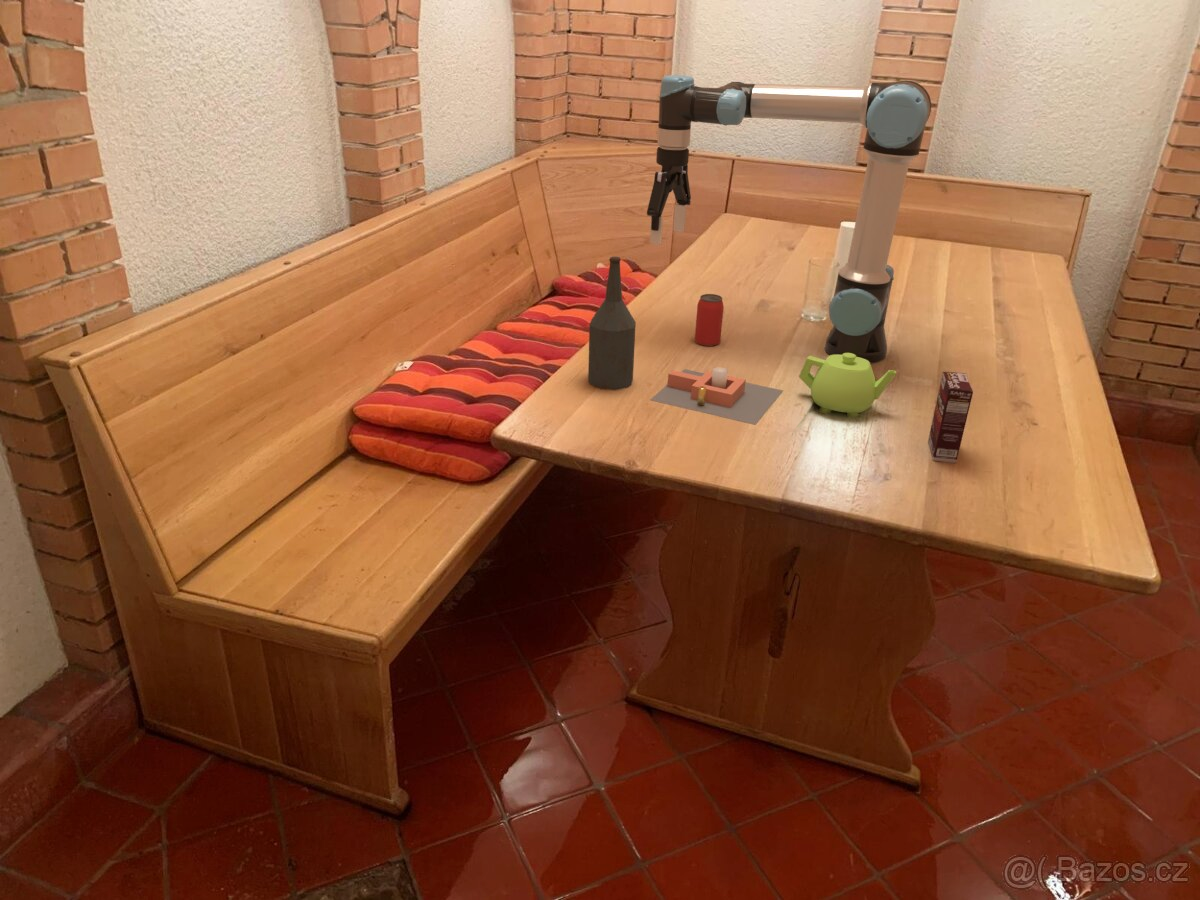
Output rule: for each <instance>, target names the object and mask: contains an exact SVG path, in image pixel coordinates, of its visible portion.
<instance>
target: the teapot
mask: <svg viewBox="0 0 1200 900" xmlns="http://www.w3.org/2000/svg"><path fill="white" fill-rule="evenodd" d="M812 365H813V366H816V367H818V370H817V371H816V373H815V375H813V374H812V373H810V371H811V369H812ZM896 375H897V371H896V370H892V369H888V370H887V371H886V372H885V373H884V374H883V375H882V376H881V377H879V379H878V380H877V381H876V378H875V375H874V370H873V368H872V365H871V363H870V362H869V361H868V360H866V359H863V358H860V357H856V355H855V354H852V353H843V354H842V355H828V356H827V357H826V358H825V359H823V358H819V357H815V356H813V355H808V356H807V358H806V359H805V362H804V364H803V366H802V368H801V371H800V372H799V375H798V378H799V379H800V380H801V381H802V383H804V384H805V385H806V387H808V388H809V389H810V395H811V398H812V400H813V402H814V403H815V404H816V405H817V406H819V408H818V411H819V412H820V413H822V414H830V413H831V411H835V412H841V413H847V416H848V418H852V419H857V418H860V414H859V413H864V412H866V411H867V410H869V408H870V407H871V406H872V405H873V404H874V401H875V400H878V399H879V397H880V396H881V395H882V394H883V392H884V391H885V389H886V388H887V387H888V385H890V383H891V381H892V380H893V379H894V378H895V376H896Z"/></svg>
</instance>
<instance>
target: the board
mask: <svg viewBox="0 0 1200 900" xmlns="http://www.w3.org/2000/svg"><path fill="white" fill-rule="evenodd" d="M681 372H683V373H687V374H692V375H697V376H701V377H702V376H703V375H704V374H705V373H706V372H705V373H704V372H701V371H700V372H699V371H695V370H692V369H691V370H690V369H687V368H684V369H683V370H682V371H681ZM712 373H713V374H712V385H711V386H713V387H718V388H722V389H726V382H727V376H728V369H727V368H725V367H720V366H718V367H713V369H712ZM667 385H668V383H667V384H666V385H665V386H664V387H662V388H661V389H660V390H659V391H658V392H657V393H655V395H654V396H652V397H651V398H650V399H649V401H652V402H657V403H660V404H665V405H669V406H673V407H677V408H682V409H687V410H690V411H694V412H699V413H703V414H707V415H712V416H715V417H719V418H720V417H721V418H724V419H729V420H732V421H737V422H740V423H741V422H742V423H745V424H750V425H755V426H756V425H757V424H758V423H759V422H760V420H761V419H762V418H763V416H764V415H765V414H766V413H767V412H768V410H769V409H770V408H771V407H772V406H773V404H774V403H775V402H776V401H777V399H779V397H780V396H781V394H782V393H783V392H784V390H783V389H778V388H775V387H768V386H764V385H759V384H756V383H750V382H747V381H746V383H745V391H744V393H743V394H742V395H741V396H740V397H739V399H738V400H737V401H736V402H735V403H734V404H733V405H732V406H731V407H727V406H722V405H718V404H714V403H709V402H705V405H704V406H698V405H697V401H698V400H696V399H692V398H691V391H687V390H682V389H678V388H673V387H669V386H667Z"/></svg>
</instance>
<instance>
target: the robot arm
mask: <svg viewBox="0 0 1200 900" xmlns="http://www.w3.org/2000/svg"><path fill="white" fill-rule="evenodd" d="M660 82H661V83H660V91H659V97H658V99H659V100H658V101H659V104H658V105H659V106H658V125H657V126H658V128H657V131H656V135H657V145H658V147H657V148H656V158H655V159H656V161H655V162H656V164H658V165H660V166H661V172H659V171H655V172H654V179H653V181H654V182H653V184H652V190H651V193H650V198H649V201H648V207H647V210H646V215H647V216H650V232H649V233H650V236H649V244H655V245H662V241H663V225H664V223H663V222H664V216H663V215H662V214H663V212H664V208H665V206H666V203H667V200H668V198H669V195H670V193H671V192H673V195H674V198H675V200H676V204H674V215H673V216H674V217H673V229H672V231H673V232H679V233H685V229H686V216H687V215H686V213H687V206H690V205H691V196H692V195H691V189H690V188H691V187H690V182H689V175H688V173H689V172H688V171H689V168H688V164H689V158H690V155H689V154H690V149H689V146H690V145H691V131H692V130H691V128H692V127H691V126H692V125H691V124H692V123H704V124H705V123H706V124H714V125H722V126H738V125H740V124H741V123H742V122H743V119H754V118H755V119H771V120H772V119H773V120H792V121H794V120H795V121H812V122H832V123H852V124H853V123H854V124H861V125H862V126H863V128H864V129H866V131H865V137H864V142H863V148H862V149H863V151H864V152H865V154H866V156H867V158H868V159H867V165H866V168H865V175H864V178H863V179H864V180H863V182H862V183H863V184H862V188H861V194H860V198H859V204H858V209H857V214H856V218H855V222H854V223H855V224H854V229H853V233H852V239H851V241H850V242H851V244H850V248H849V253H848V257H847V262H846V263H845V265H844V266H842V267H841V268H839V269H838V274H837V279H836V284H835V289H834V294H833V297H832V298H831V301H830V302H829V306H828V314H829V315H828V316H829V319H830V321H831V323H832V325H833V326H832V327H831V329H830V332H829V333H828V334H827V335H828V336H827V337H826V339H825V344H824V351H825V352H826V353H827V354H828V356H830V355H842V354H843V353H852V354H855V355H856V357H860V358H863V359H866V360H868V361H869V362H870V364H872V363H878V362H881V361H883V360H884V359H885V358H887V357H886V356H887V351H888V343H887V337H886V331H885V330H886V329H885V322H886V318H887V317H886V316H887V312H888V306H889V301H890V297H891V290H892V284H893V281H894V279H895V277H894V273H895V271H894V268H893V266H891V265H890V264H889V265H888V260H889V256H890V251H891V247H892V244H893V243H892V242H893V239H894V233H895V229H896V224H897V220H898V215H899V212H900V206H901V203H902V202H901V201H902V198H903V194H904V193H903V192H904V188H905V183H906V180H907V176H908V175H907V174H908V171H909V167H910V163H911V161H913V160H915V159H916V158H918V156H919V154H920V150H921V146H922V142H923V137H924V133H925V129H926V125H927V122H928V121H929V118H930V116H931V111H932V100H931V97H930V94H929V92H928V91H927V89H926V88H925V87H924V86H923V85H921V84H920V83H918V82H916V81H913V80H898V81H891V82H890V81H889V82H888V81H887V82H870V83H869V84H868V85H866V86H865V87H864V86H840V85H838V86H835V85H834V86H833V85H806V84H805V85H803V84H777V83H776V84H775V83H774V84H773V83H770V84H769V83H745V82H743V81H731V82H728V83H727V84H725V85H722V86H719V87H704V86H702V87H700V86H697V85H695V79H694V77H693V76H691V75H690V76H689V75H684V74H683V75H681V74H669V75H665V76H664V77H662V79H661V81H660Z"/></svg>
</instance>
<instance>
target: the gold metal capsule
mask: <svg viewBox="0 0 1200 900" xmlns="http://www.w3.org/2000/svg"><path fill="white" fill-rule="evenodd" d="M705 396H706V387H703V386H700V387H699V390H698V401H697V405H698V406H704V405H705Z"/></svg>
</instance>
